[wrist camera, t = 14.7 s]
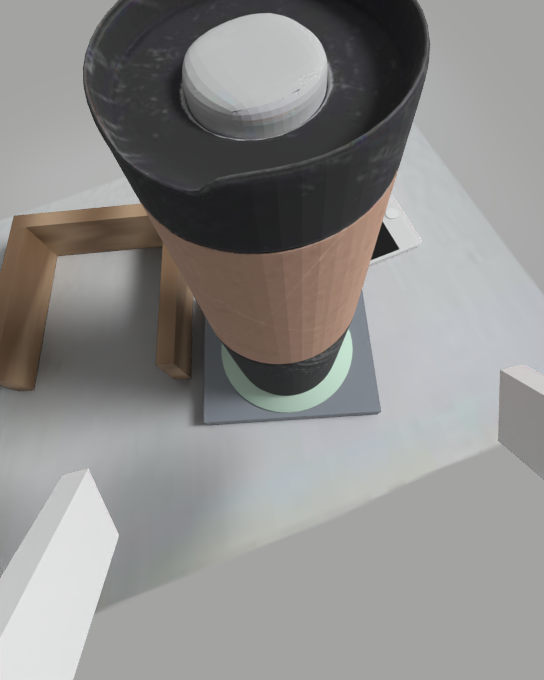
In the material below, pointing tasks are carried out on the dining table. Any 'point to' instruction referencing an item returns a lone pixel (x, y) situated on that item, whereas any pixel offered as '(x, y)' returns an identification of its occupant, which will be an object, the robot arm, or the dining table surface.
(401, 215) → the smartphone
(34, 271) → the mug cradle
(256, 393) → the dock pad
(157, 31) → the travel mug
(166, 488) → the dining table surface
